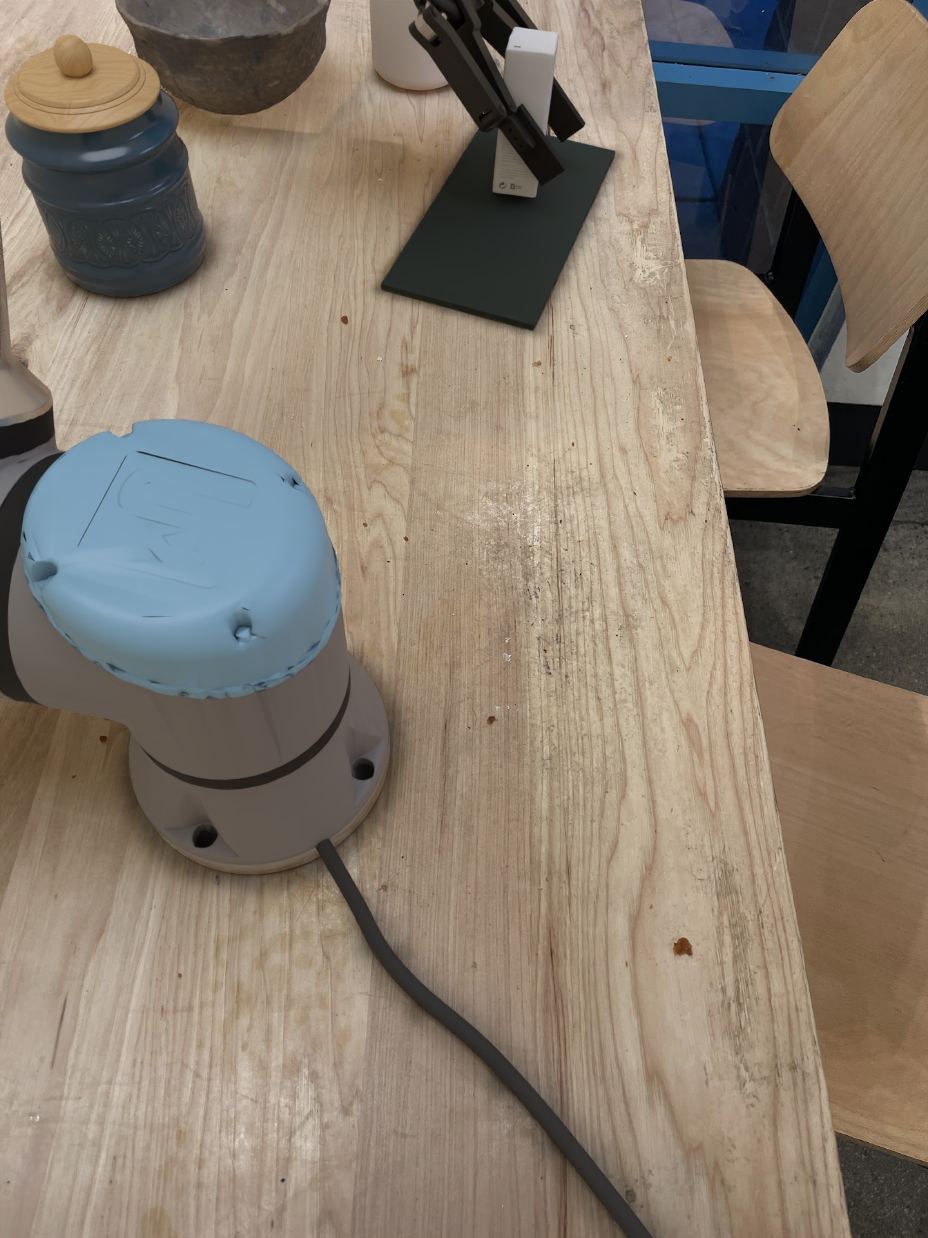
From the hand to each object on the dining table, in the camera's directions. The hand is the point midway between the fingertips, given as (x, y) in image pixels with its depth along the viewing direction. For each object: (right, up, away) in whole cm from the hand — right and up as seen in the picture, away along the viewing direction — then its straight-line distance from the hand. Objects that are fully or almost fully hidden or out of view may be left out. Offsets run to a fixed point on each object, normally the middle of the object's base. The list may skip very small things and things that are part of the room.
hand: (563, 153), depth 82 cm
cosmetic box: (-4, -1, +3) cm, 5 cm away
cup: (-14, +17, +15) cm, 26 cm away
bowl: (-33, +12, +11) cm, 37 cm away
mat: (-5, -5, +1) cm, 8 cm away
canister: (-39, -11, -3) cm, 40 cm away
